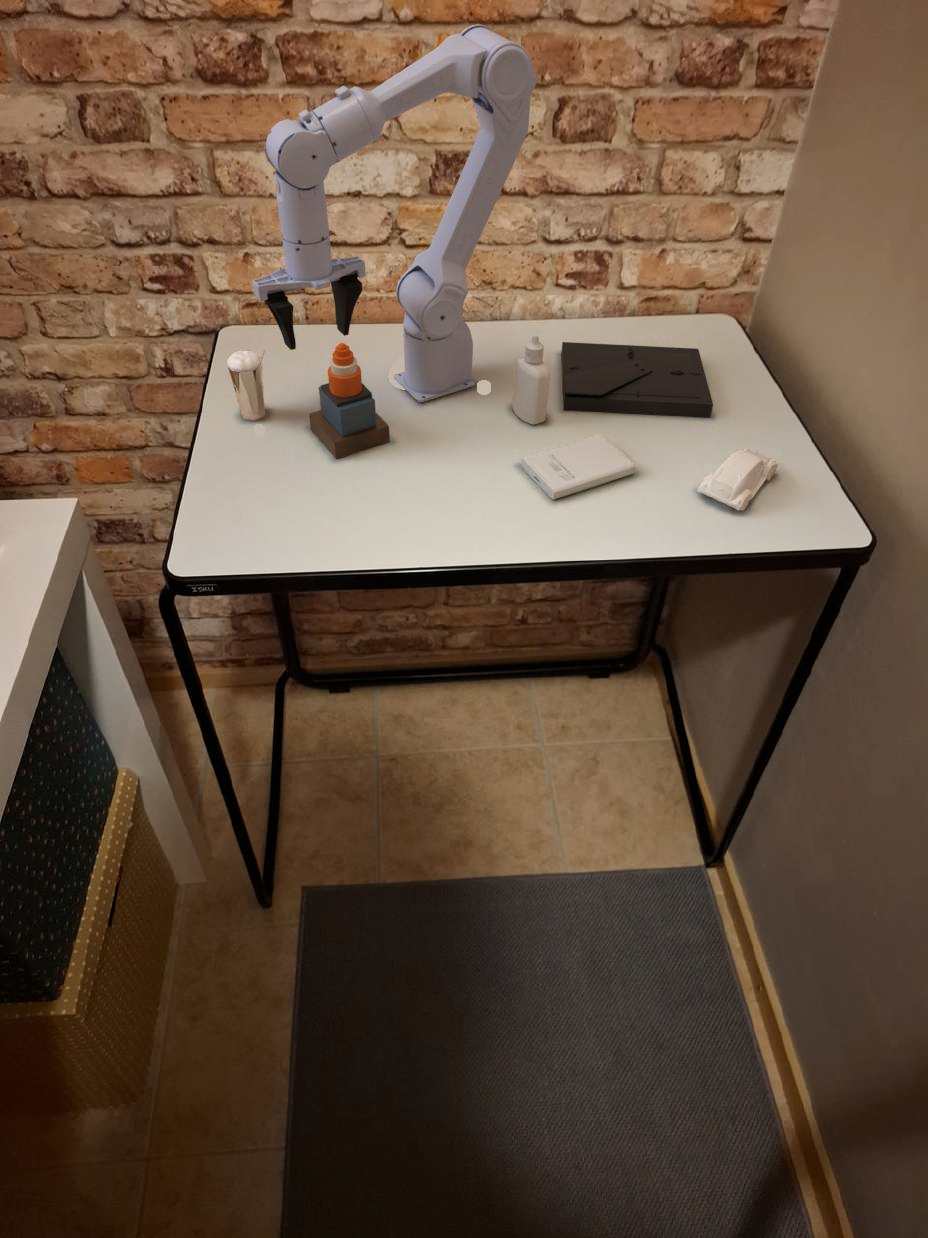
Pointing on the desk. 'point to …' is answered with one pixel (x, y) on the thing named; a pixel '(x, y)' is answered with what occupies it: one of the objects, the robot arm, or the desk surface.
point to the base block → (348, 436)
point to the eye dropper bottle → (531, 384)
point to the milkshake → (248, 383)
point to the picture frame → (634, 380)
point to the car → (738, 478)
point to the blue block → (349, 414)
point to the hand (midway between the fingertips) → (317, 338)
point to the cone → (344, 378)
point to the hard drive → (577, 466)
